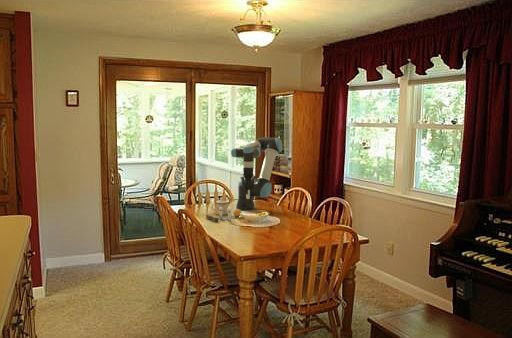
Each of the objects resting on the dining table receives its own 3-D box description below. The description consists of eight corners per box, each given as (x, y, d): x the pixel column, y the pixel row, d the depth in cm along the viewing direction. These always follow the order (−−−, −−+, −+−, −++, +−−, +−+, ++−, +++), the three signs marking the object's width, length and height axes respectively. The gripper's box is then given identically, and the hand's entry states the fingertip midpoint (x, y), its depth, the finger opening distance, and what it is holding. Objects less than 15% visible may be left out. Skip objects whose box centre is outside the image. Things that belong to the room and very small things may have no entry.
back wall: (206, 218, 327) (206, 214, 327) (208, 218, 328) (208, 214, 328) (215, 222, 315) (215, 218, 315) (218, 222, 317) (218, 217, 316)
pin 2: (230, 220, 323) (230, 208, 322) (231, 220, 321) (231, 208, 320) (227, 220, 322) (227, 208, 321) (228, 221, 320) (228, 209, 319)
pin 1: (221, 218, 327) (221, 207, 326) (223, 219, 325) (223, 207, 324) (218, 219, 326) (218, 207, 325) (220, 219, 324) (220, 208, 323)
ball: (238, 215, 338) (238, 207, 337) (242, 217, 333) (242, 209, 332) (231, 216, 334) (231, 208, 334) (235, 218, 329) (236, 210, 329)
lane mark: (237, 215, 339) (237, 215, 339) (243, 217, 332) (243, 217, 332) (216, 218, 328) (216, 218, 328) (222, 220, 322) (222, 220, 322)
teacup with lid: (227, 212, 350) (227, 197, 349) (228, 214, 341) (228, 199, 340) (211, 212, 348) (211, 197, 347) (212, 215, 339) (212, 199, 338)
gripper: (252, 166, 342) (252, 197, 344) (238, 167, 334) (237, 198, 337) (258, 167, 336) (257, 198, 338) (243, 167, 328) (243, 200, 330)
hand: (247, 198), depth 337 cm, fingers closed
